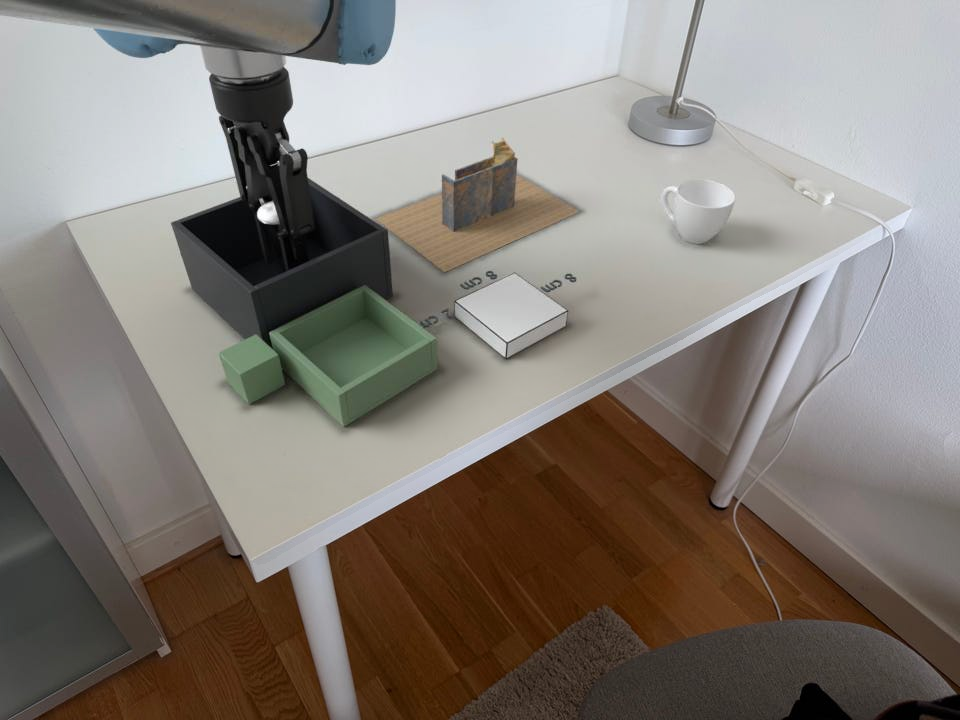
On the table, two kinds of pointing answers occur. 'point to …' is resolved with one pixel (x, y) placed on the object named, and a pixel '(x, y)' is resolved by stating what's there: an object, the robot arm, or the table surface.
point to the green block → (252, 368)
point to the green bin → (354, 353)
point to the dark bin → (255, 284)
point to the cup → (698, 208)
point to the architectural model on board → (476, 212)
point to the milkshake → (272, 233)
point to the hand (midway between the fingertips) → (287, 267)
